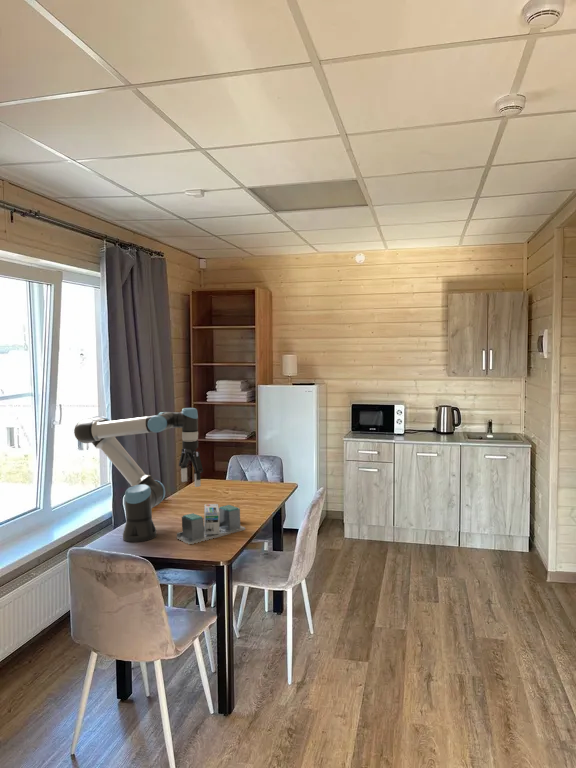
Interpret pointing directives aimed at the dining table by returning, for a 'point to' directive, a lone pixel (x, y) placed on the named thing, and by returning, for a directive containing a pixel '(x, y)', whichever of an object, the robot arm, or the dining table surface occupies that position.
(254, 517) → the dining table surface
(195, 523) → the grey u-shaped stand
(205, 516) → the light bulb box
